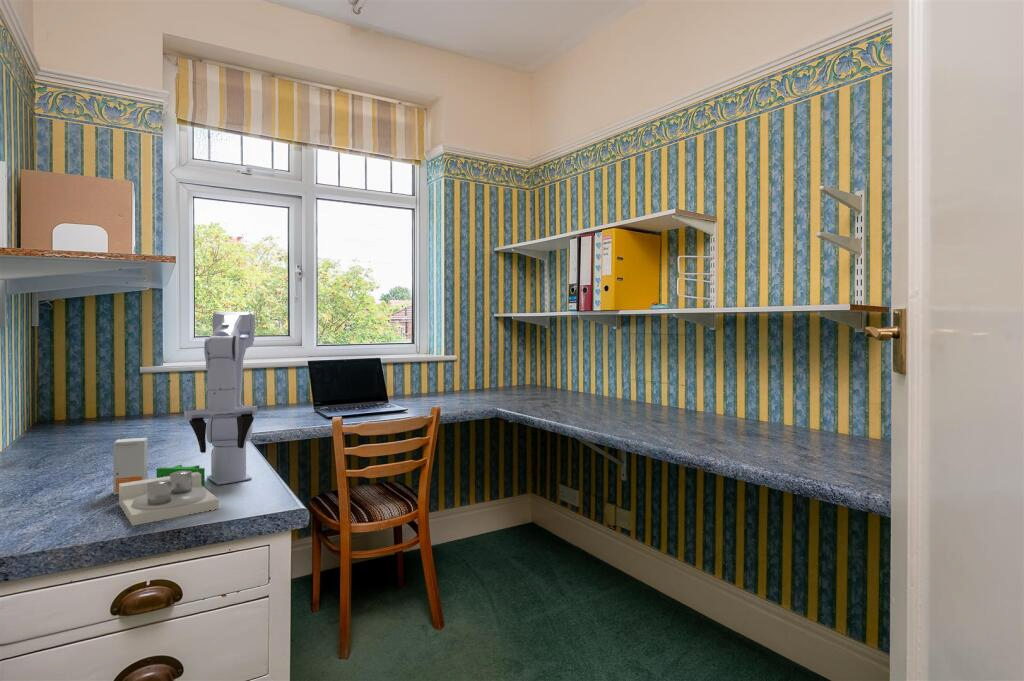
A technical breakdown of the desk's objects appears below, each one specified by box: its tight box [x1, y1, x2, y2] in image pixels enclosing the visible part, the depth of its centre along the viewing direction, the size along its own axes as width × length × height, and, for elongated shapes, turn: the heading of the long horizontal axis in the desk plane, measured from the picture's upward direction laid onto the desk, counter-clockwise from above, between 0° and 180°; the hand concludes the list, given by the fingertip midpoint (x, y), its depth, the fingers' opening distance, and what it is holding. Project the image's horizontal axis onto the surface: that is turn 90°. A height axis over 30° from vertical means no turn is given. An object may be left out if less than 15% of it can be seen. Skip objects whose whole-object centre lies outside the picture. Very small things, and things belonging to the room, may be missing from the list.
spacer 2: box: [170, 471, 192, 494], centre depth 119 cm, size 4×4×4 cm
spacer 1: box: [147, 480, 171, 506], centre depth 112 cm, size 4×4×4 cm
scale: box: [118, 472, 220, 527], centre depth 117 cm, size 17×15×4 cm
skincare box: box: [112, 437, 149, 496], centre depth 128 cm, size 6×4×12 cm
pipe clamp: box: [156, 464, 206, 488], centre depth 134 cm, size 11×4×5 cm, turn 86°
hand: (222, 449), depth 125 cm, fingers open, 7 cm apart
